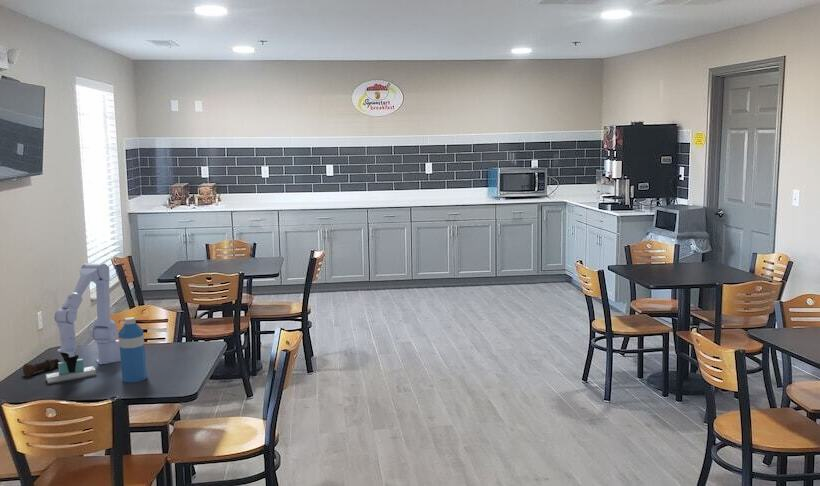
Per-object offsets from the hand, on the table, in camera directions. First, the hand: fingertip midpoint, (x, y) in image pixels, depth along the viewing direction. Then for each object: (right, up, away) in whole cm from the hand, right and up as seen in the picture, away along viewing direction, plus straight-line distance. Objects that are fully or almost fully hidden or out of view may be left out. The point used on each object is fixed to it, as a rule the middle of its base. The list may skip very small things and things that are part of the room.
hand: (70, 370), depth 313 cm
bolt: (-16, -3, +11) cm, 20 cm away
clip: (0, -3, 0) cm, 3 cm away
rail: (0, -3, 0) cm, 3 cm away
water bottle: (+27, -3, -4) cm, 28 cm away
